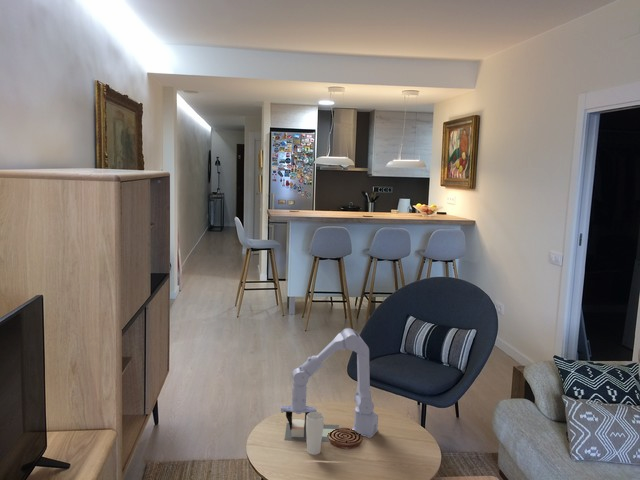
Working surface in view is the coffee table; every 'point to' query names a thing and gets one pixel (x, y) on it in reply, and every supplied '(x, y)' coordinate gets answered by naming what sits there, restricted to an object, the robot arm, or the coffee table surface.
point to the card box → (297, 428)
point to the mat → (326, 430)
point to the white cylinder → (314, 432)
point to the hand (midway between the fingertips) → (298, 429)
